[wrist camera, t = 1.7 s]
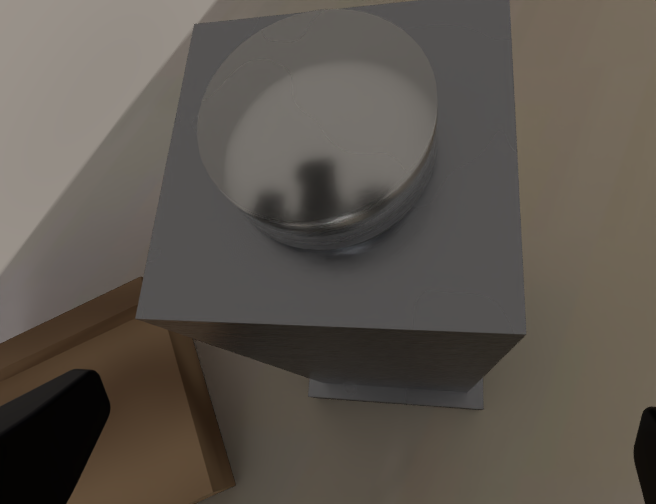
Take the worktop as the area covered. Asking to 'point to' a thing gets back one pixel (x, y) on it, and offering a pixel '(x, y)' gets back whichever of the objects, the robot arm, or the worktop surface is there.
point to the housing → (348, 199)
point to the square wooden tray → (129, 401)
